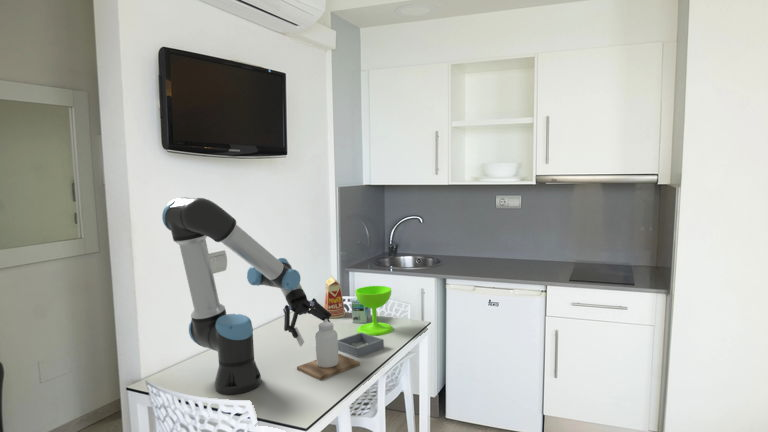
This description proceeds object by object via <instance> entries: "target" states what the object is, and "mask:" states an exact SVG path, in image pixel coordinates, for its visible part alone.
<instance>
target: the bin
mask: <svg viewBox="0 0 768 432" xmlns="http://www.w3.org/2000/svg"><path fill="white" fill-rule="evenodd" d="M361 342H362V343H365V344H364V345H362V346H358V347H356V346H354V345H355V344H358V343H361ZM384 343H385V342H384V339H383V338H380V337H377V336H371V335H368V334H365V333H362V332H361V333H358V332H357V333H355V334H352V335H350V336H346V337H343V338H340V339H338V352H342V353H344V354H347V355H350V356H352V357H355V358H357V359H358V358H360V357H363V356H366V355H368V354H371V353H374V352H377V351H380V350H382V349H384V348H385V346H384V345H385V344H384Z"/></svg>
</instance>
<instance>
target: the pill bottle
mask: <svg viewBox="0 0 768 432" xmlns="http://www.w3.org/2000/svg"><path fill="white" fill-rule="evenodd" d="M338 340H339V338H338V332H337V331H336V330H334V323H333V322H331V321H330V322H324V321H322V322H321V323H319V324H318V331H317V332H316V333H315V354H316V359H315V360H317V365H318V366H319V367H323V368H329V367H334V366H336V365H337V364H338V361H339V360H338V354H339V350H338Z"/></svg>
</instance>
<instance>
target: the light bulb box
mask: <svg viewBox="0 0 768 432" xmlns="http://www.w3.org/2000/svg"><path fill="white" fill-rule="evenodd" d="M351 316H352V319H351V321H352V323H353V324H367V323H368V321H369V320H370V319H371V318H372V308H368V307H365V306H364V305H362V304H361V303H360V302H359V301H358V299H357V297H356V296H355V297H353V299H352V300H351Z"/></svg>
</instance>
